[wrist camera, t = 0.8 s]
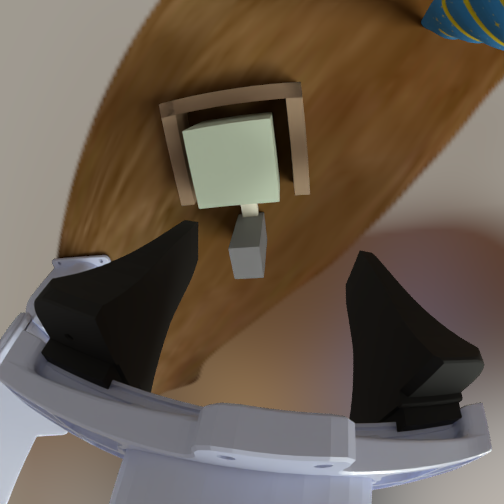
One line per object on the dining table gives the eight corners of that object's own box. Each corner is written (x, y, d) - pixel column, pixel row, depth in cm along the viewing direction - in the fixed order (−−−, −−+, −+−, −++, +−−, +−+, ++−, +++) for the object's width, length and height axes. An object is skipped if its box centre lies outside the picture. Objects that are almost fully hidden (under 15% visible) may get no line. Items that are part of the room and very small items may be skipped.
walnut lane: (171, 101, 17) (158, 104, 15) (297, 82, 16) (300, 81, 14) (191, 193, 21) (181, 205, 19) (306, 182, 20) (309, 194, 18)
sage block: (202, 121, 18) (179, 132, 14) (272, 111, 17) (269, 119, 13) (225, 242, 24) (214, 279, 20) (285, 238, 23) (285, 276, 19)
